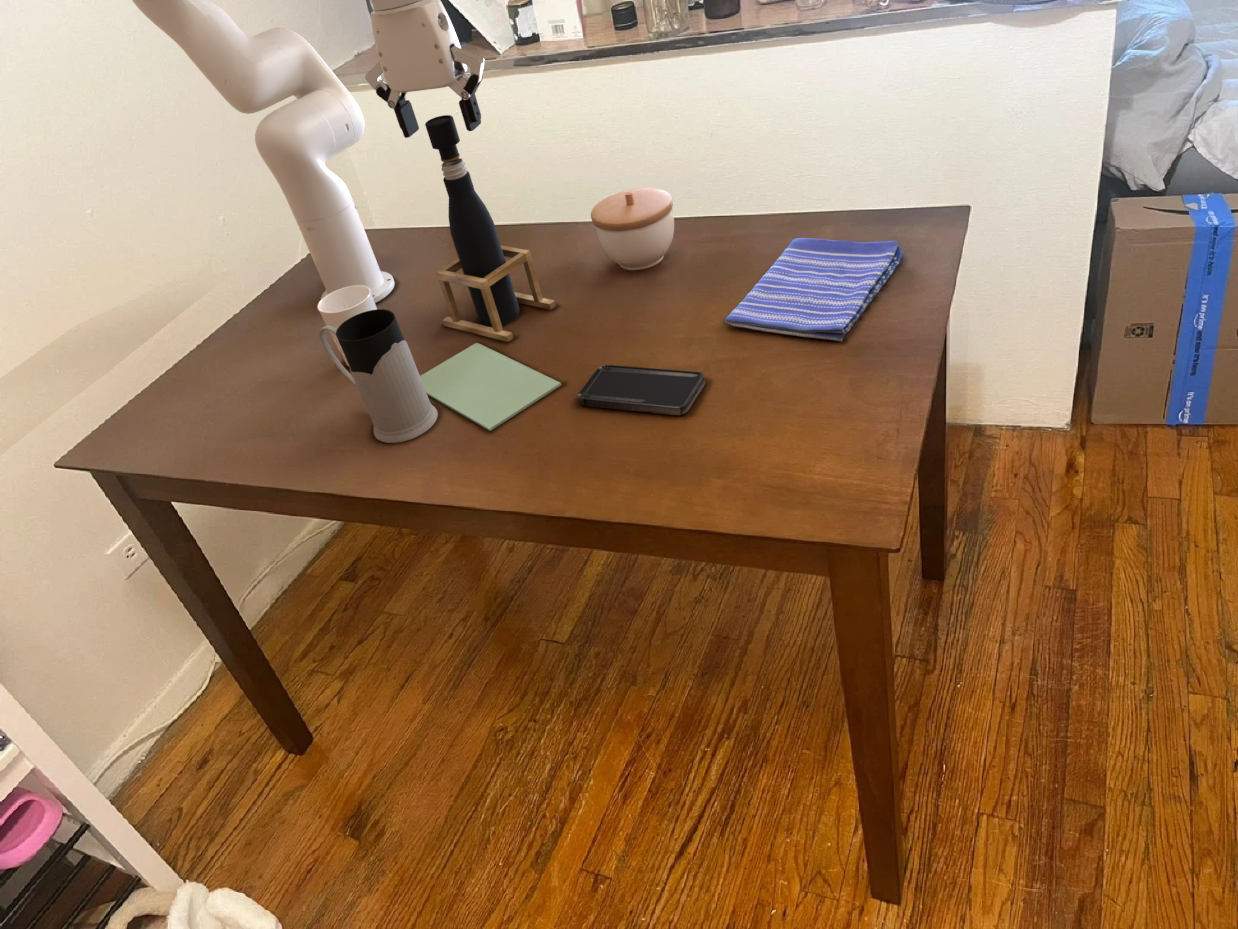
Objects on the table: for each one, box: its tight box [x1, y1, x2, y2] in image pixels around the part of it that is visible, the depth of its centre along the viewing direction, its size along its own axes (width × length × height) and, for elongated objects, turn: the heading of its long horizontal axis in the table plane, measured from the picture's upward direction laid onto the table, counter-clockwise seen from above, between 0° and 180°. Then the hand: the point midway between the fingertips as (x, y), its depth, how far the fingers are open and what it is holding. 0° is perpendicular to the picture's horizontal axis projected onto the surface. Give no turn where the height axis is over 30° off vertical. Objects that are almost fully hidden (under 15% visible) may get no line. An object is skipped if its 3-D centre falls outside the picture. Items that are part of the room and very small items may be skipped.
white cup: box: [316, 285, 378, 368], centre depth 139 cm, size 8×8×10 cm
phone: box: [577, 364, 706, 416], centre depth 119 cm, size 8×1×15 cm
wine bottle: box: [424, 114, 521, 328], centre depth 135 cm, size 6×6×30 cm
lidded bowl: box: [590, 187, 675, 271], centre depth 147 cm, size 13×13×11 cm
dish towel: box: [723, 237, 904, 342], centre depth 130 cm, size 17×24×3 cm
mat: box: [420, 342, 562, 432], centre depth 129 cm, size 20×12×1 cm, turn 42°
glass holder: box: [318, 308, 439, 444], centre depth 123 cm, size 9×14×15 cm, turn 58°
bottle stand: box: [435, 245, 557, 343], centre depth 142 cm, size 14×11×9 cm
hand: (443, 130), depth 127 cm, fingers open, 9 cm apart
